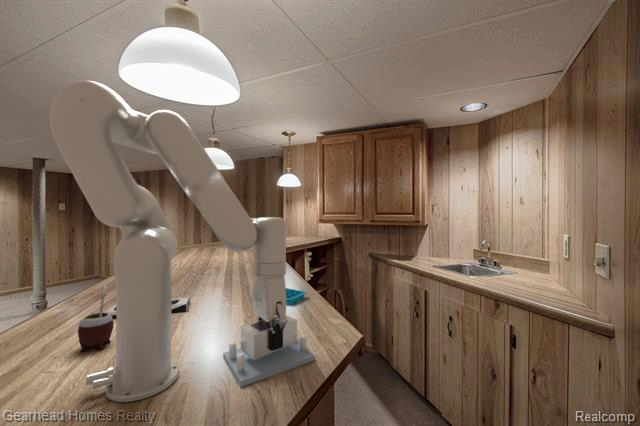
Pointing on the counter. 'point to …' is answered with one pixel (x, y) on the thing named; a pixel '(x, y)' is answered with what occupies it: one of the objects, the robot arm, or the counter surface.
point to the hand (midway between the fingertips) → (269, 341)
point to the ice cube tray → (294, 296)
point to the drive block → (265, 337)
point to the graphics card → (176, 306)
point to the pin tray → (266, 362)
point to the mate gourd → (95, 329)
